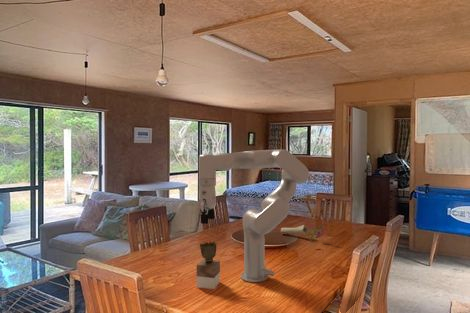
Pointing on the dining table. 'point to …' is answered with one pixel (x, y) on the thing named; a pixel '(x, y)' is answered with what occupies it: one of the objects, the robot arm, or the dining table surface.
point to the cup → (208, 251)
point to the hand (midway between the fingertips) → (207, 221)
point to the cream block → (208, 282)
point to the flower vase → (303, 231)
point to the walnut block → (208, 268)
